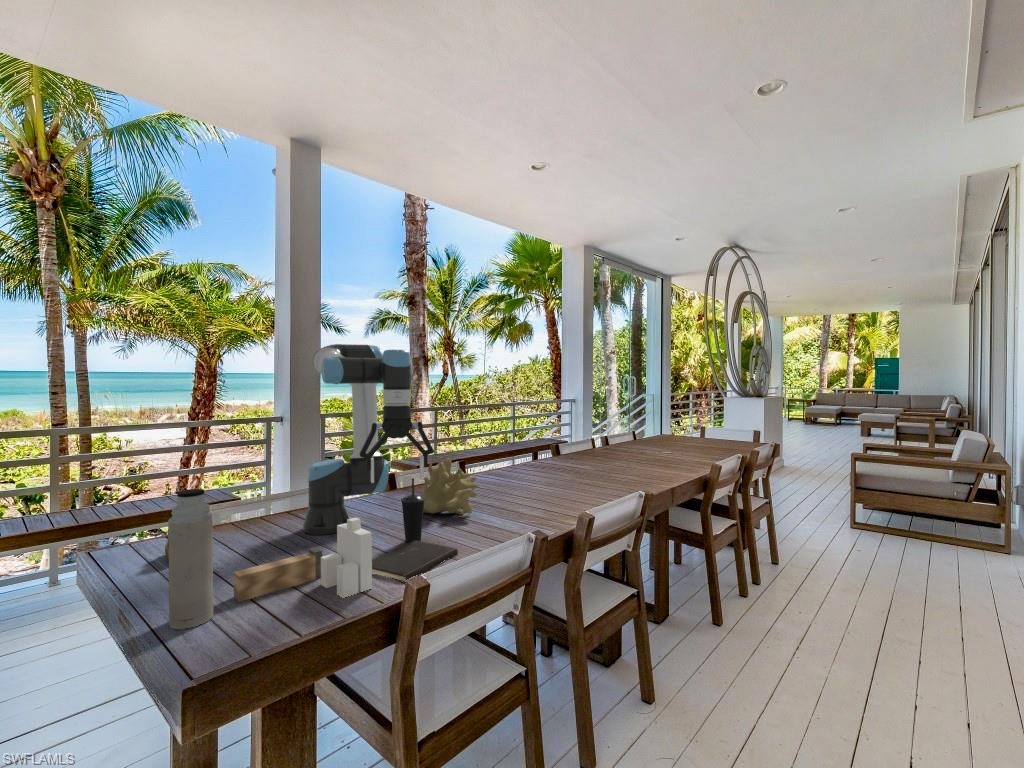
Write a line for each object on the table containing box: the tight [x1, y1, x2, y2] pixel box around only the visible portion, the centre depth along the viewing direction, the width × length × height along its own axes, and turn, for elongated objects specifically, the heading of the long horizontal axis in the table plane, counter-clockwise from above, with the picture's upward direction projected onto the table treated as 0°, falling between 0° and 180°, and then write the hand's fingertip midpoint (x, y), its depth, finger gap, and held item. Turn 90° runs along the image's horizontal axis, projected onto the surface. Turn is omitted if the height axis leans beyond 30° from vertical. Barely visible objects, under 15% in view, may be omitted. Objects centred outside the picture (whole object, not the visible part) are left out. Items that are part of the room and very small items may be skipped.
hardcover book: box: [372, 540, 459, 581], centre depth 140 cm, size 16×23×2 cm
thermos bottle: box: [167, 488, 214, 630], centre depth 106 cm, size 8×8×28 cm
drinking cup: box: [400, 478, 425, 544], centre depth 158 cm, size 8×8×20 cm
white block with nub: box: [320, 517, 373, 599], centre depth 123 cm, size 12×8×16 cm, turn 46°
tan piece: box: [233, 546, 323, 602], centre depth 123 cm, size 20×4×7 cm, turn 136°
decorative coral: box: [421, 457, 479, 516], centre depth 191 cm, size 26×22×25 cm
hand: (397, 480), depth 139 cm, fingers open, 13 cm apart
